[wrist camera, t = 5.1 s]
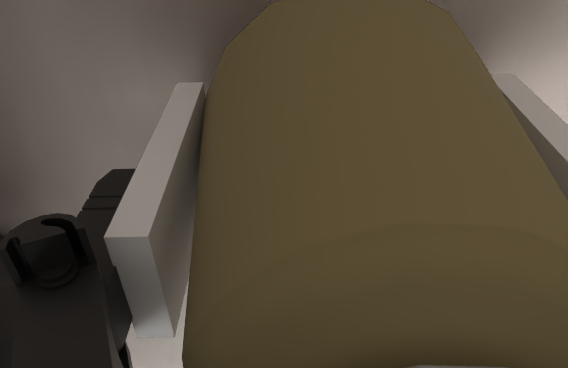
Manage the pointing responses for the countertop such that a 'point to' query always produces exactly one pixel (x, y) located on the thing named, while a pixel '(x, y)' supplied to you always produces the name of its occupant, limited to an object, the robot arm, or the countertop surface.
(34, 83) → the countertop surface
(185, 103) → the robot arm
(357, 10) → the squeeze bottle
